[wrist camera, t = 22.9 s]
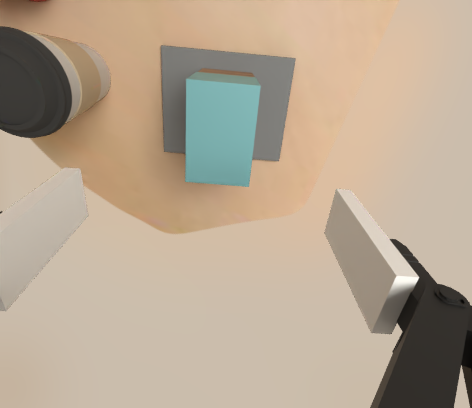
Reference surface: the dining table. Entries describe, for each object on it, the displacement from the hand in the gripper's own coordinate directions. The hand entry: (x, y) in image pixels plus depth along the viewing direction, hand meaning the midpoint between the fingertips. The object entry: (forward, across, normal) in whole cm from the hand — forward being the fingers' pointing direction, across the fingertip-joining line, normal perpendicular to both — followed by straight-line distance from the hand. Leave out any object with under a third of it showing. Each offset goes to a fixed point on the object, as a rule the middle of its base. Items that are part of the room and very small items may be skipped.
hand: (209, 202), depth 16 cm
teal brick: (+19, 0, 0) cm, 19 cm away
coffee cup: (+27, -18, +2) cm, 32 cm away
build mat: (+27, 0, 0) cm, 27 cm away
